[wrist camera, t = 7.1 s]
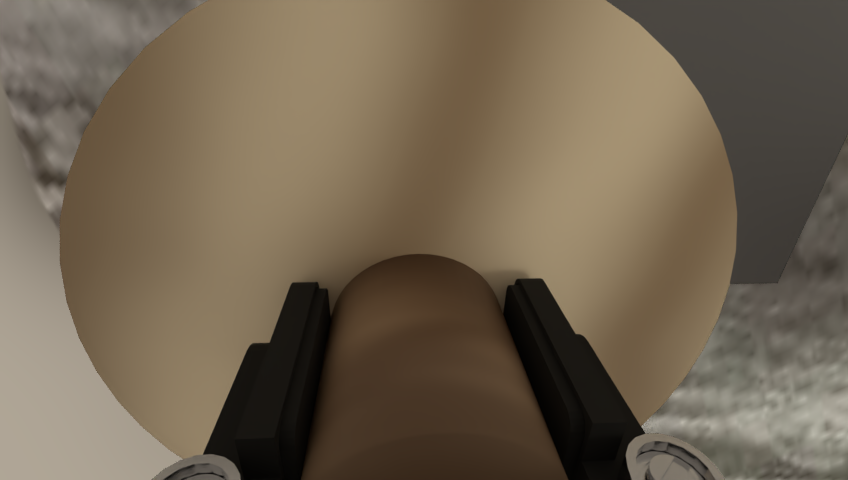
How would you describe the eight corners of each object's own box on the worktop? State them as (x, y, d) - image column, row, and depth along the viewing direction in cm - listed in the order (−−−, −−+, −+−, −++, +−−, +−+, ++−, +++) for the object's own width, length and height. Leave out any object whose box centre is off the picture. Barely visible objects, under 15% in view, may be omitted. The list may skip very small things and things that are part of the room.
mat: (900, 0, 21) (911, -1, 21) (771, 279, 28) (777, 283, 28) (581, -12, 20) (585, -13, 19) (532, 282, 27) (534, 286, 27)
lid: (804, -31, 8) (1442, -106, 3) (623, 469, 15) (742, 694, 10) (-29, -62, 7) (-1008, -250, 2) (181, 495, 14) (65, 763, 9)
